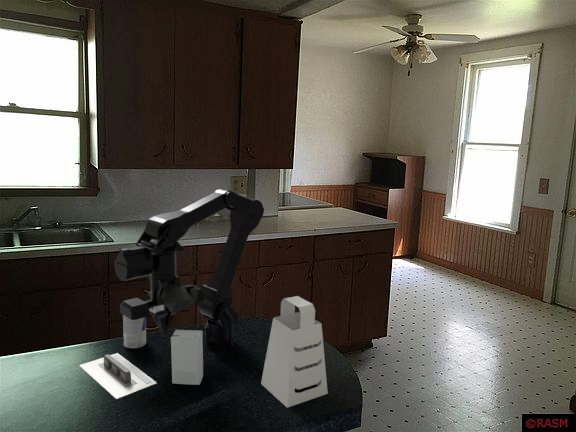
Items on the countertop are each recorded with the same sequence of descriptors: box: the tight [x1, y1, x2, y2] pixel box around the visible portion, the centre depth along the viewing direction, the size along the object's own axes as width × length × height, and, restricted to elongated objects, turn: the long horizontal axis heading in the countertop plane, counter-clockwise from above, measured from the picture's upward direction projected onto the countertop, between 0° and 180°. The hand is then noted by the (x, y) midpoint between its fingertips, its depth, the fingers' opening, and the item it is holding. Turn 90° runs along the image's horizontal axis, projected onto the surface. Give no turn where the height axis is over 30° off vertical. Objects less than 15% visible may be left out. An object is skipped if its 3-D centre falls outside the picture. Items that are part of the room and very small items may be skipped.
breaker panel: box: [78, 352, 158, 400], centre depth 101 cm, size 9×18×2 cm, turn 46°
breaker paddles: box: [104, 353, 131, 384], centre depth 101 cm, size 1×10×2 cm, turn 46°
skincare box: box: [170, 329, 204, 386], centre depth 99 cm, size 6×4×12 cm
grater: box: [260, 295, 329, 408], centre depth 99 cm, size 10×10×20 cm
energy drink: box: [122, 314, 147, 349], centre depth 115 cm, size 5×5×12 cm
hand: (164, 335), depth 109 cm, fingers closed
